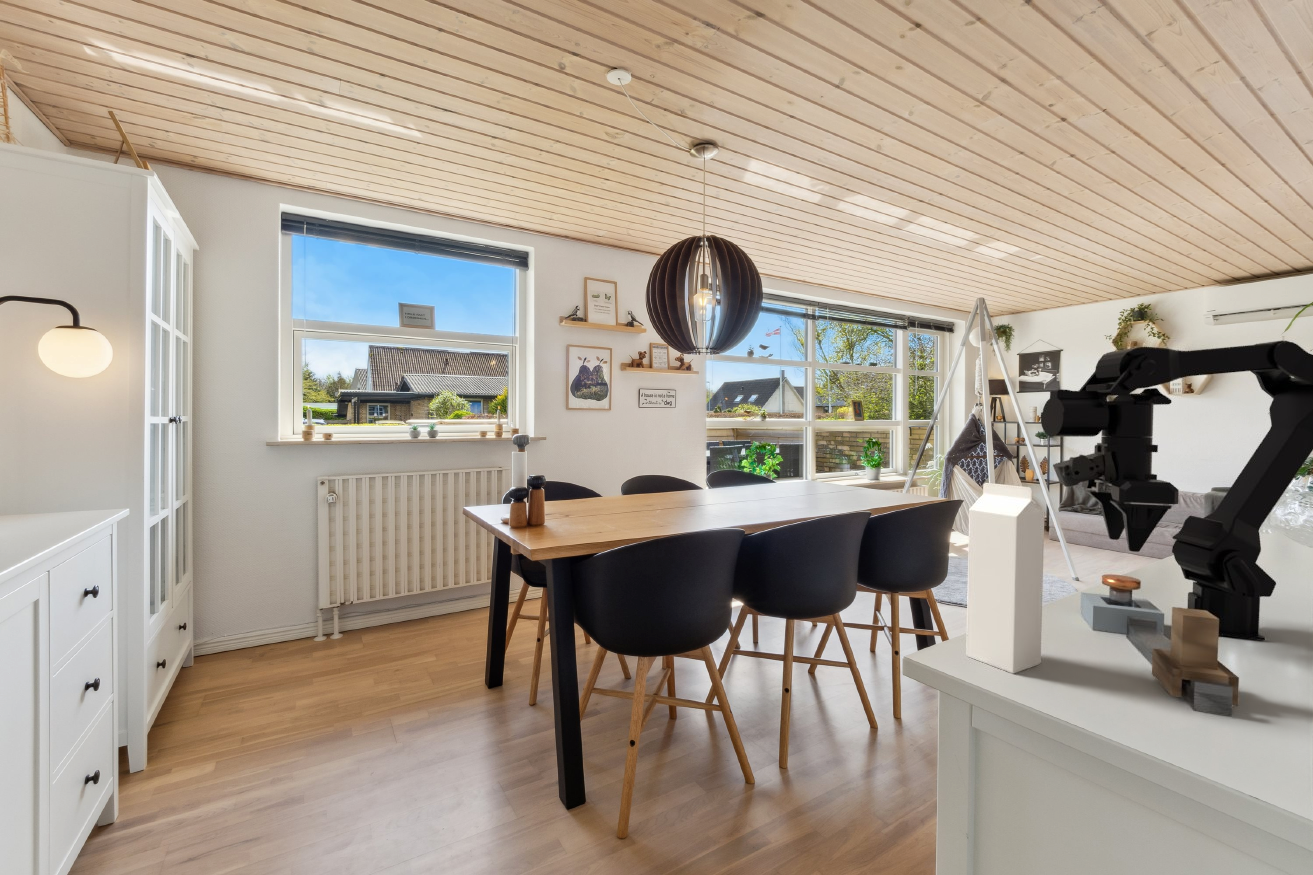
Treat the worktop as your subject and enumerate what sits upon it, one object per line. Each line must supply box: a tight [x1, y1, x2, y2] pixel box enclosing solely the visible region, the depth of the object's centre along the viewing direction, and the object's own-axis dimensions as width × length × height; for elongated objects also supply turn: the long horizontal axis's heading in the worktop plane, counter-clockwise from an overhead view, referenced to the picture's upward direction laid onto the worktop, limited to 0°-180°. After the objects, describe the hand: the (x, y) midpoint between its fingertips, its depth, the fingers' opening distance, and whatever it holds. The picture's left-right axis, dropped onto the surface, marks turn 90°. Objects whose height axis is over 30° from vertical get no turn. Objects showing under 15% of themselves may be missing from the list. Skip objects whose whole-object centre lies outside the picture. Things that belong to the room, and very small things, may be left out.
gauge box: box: [1080, 591, 1165, 636], centre depth 85 cm, size 8×7×4 cm
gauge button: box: [1101, 573, 1142, 607], centre depth 85 cm, size 4×4×4 cm
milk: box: [965, 482, 1046, 675], centre depth 73 cm, size 6×6×22 cm
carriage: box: [1151, 606, 1240, 707], centre depth 64 cm, size 5×6×8 cm
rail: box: [1125, 616, 1233, 717], centre depth 70 cm, size 3×22×3 cm, turn 156°
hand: (1123, 545), depth 84 cm, fingers open, 8 cm apart
